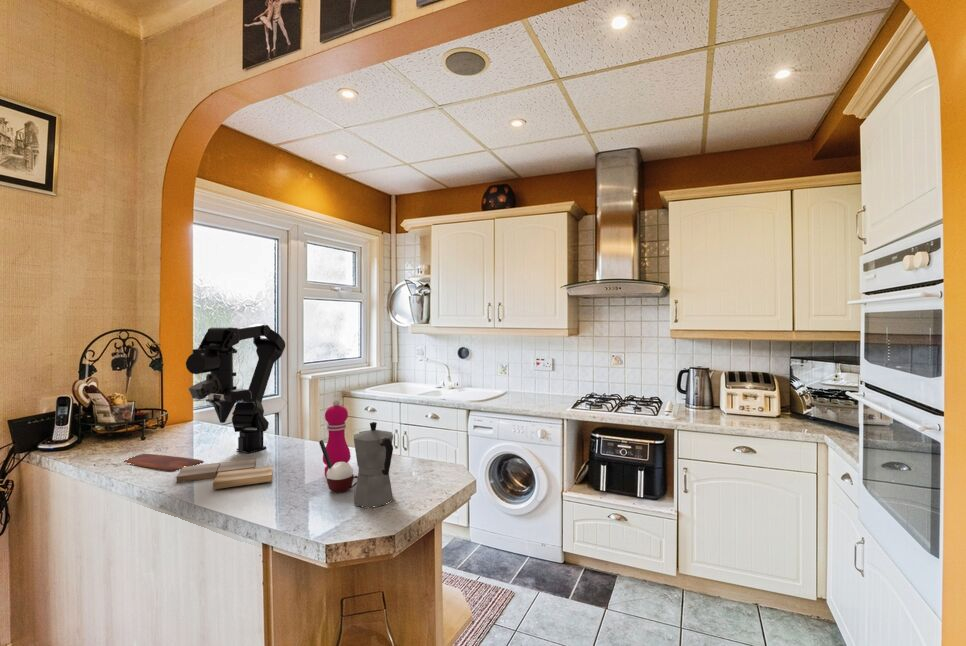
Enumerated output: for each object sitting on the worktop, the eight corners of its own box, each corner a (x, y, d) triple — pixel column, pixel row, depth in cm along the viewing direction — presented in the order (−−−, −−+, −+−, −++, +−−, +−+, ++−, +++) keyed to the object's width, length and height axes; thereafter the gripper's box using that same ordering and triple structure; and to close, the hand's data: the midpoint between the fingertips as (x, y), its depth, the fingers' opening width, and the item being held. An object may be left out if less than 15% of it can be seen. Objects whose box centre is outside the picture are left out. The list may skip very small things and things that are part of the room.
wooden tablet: (206, 464, 132) (206, 458, 132) (172, 475, 122) (172, 468, 122) (147, 454, 141) (147, 449, 141) (112, 463, 132) (112, 458, 132)
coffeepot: (342, 496, 105) (342, 420, 105) (379, 487, 110) (379, 415, 110) (371, 518, 93) (370, 432, 93) (410, 506, 98) (410, 426, 98)
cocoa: (361, 489, 110) (364, 441, 110) (344, 498, 104) (347, 446, 104) (331, 482, 114) (334, 435, 114) (313, 490, 108) (316, 441, 108)
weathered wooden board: (183, 472, 122) (183, 466, 122) (255, 463, 129) (255, 458, 129) (176, 482, 114) (176, 476, 114) (254, 472, 122) (254, 466, 122)
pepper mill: (356, 470, 123) (355, 398, 123) (337, 479, 116) (337, 403, 116) (336, 467, 126) (335, 397, 126) (316, 475, 119) (316, 401, 119)
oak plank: (218, 478, 117) (218, 472, 117) (272, 471, 122) (272, 465, 122) (213, 489, 108) (213, 482, 108) (272, 481, 113) (272, 474, 113)
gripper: (174, 371, 127) (175, 425, 128) (214, 374, 119) (215, 432, 119) (212, 367, 137) (213, 417, 138) (252, 370, 129) (253, 423, 129)
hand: (222, 422), depth 131 cm, fingers closed
